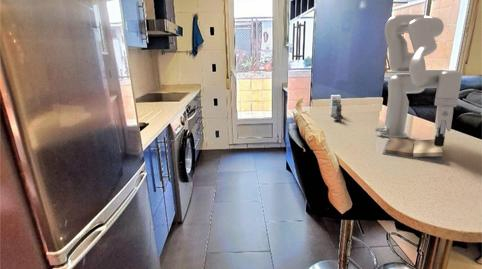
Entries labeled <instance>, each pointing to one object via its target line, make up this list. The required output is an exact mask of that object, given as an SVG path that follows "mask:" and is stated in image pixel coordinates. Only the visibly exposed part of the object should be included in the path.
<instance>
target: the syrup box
mask: <svg viewBox="0 0 482 269" xmlns="http://www.w3.org/2000/svg"><path fill="white" fill-rule="evenodd" d="M341 100H342V95H341V94H331V95H330V104H329V116H330V117H332V118H334V115H336V109H337V105H338V104H339V103H340V104H341Z"/></svg>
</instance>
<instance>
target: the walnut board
mask: <svg viewBox="0 0 482 269" xmlns="http://www.w3.org/2000/svg"><path fill="white" fill-rule="evenodd" d="M388 140H389V142H388V144H387V147H386V150H385V153H390V154H397V155H403V156H410V157H412V152H413V143H414V140H412V139H407V138H403V139H398V138H388Z"/></svg>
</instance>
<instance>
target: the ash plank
mask: <svg viewBox="0 0 482 269" xmlns="http://www.w3.org/2000/svg"><path fill="white" fill-rule="evenodd" d="M413 141H414V142H413V143H414V150H413V156H414V157H422V156H443V157H444V151H443V146H437V145H434V141H435V138H434V139H432V138H431V139H417V140H415V139H414V140H413Z"/></svg>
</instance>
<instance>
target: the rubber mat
mask: <svg viewBox="0 0 482 269" xmlns="http://www.w3.org/2000/svg"><path fill="white" fill-rule="evenodd" d="M388 142H389V139H387V141H386V144H385V146H384V149H383V152H382V155H386V156H387V155H389V156H395V157H400V158H406V159H407V158H408V159H412V160H419V161H426V162H432V163H438V164H445V158H444V155H443V156H422V157H414V156H413V152H412V157H410V156H403V155H397V154H390V153H385V150H386V147H387V144H388ZM413 150H414V142H413Z"/></svg>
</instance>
